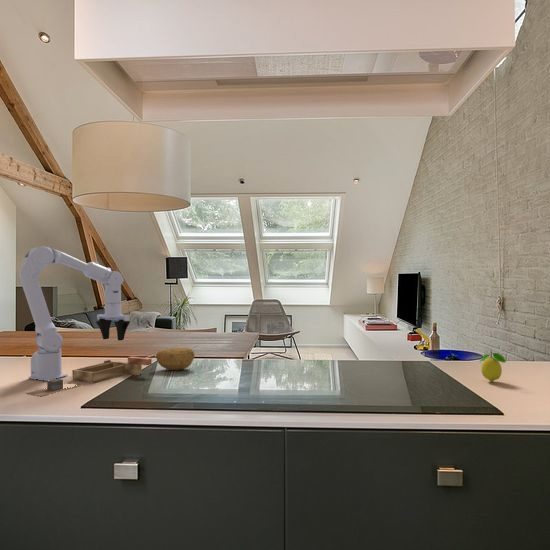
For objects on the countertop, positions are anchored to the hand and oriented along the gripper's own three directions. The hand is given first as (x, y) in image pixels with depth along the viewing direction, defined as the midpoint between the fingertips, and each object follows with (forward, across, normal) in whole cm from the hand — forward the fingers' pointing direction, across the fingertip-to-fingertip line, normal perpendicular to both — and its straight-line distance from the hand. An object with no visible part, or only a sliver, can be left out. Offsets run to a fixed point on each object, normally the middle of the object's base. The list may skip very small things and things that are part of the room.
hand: (113, 339), depth 153 cm
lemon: (+11, -126, -31) cm, 130 cm away
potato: (+11, -24, -6) cm, 27 cm away
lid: (+11, -7, +29) cm, 32 cm away
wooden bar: (+7, -18, +5) cm, 20 cm away
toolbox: (+10, -10, +11) cm, 18 cm away
